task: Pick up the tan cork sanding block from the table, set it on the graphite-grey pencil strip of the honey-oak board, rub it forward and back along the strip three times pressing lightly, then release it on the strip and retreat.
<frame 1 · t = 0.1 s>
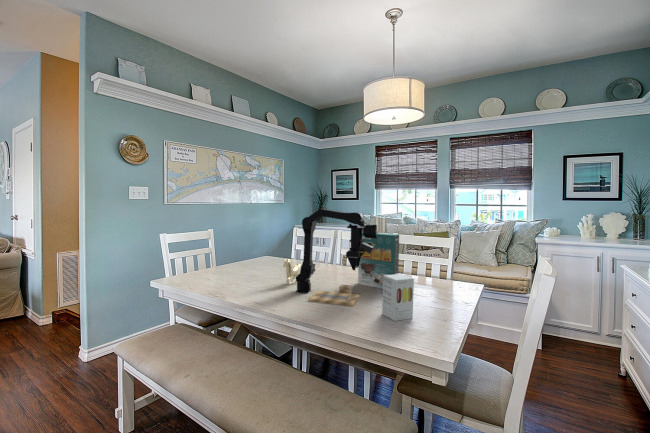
hand: (355, 268, 155), 14 cm above the table, fingers open, 9 cm apart
cake mix box: (377, 286, 176), on the table
sanding block: (345, 293, 161), on the table
unicorn: (292, 284, 177), on the table
supplement box: (397, 316, 130), on the table
board: (334, 299, 151), on the table
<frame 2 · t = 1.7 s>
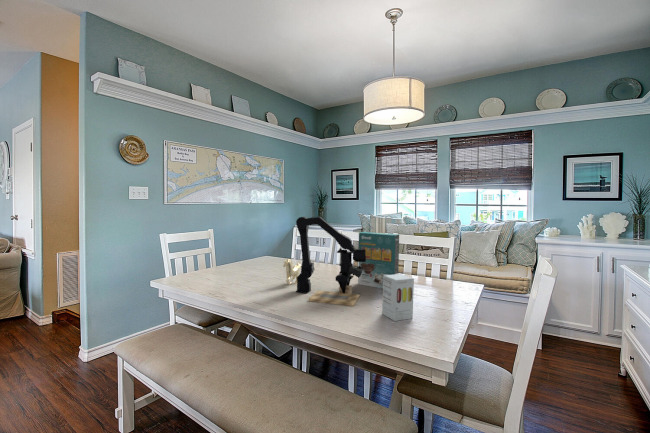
hand: (345, 291, 160), 1 cm above the table, fingers open, 6 cm apart
nothing on the table moved.
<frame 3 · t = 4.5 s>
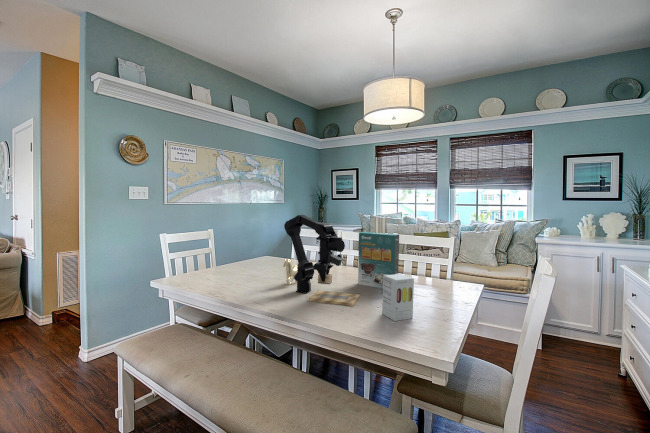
hand: (324, 280, 152), 9 cm above the table, fingers closed on sanding block, 4 cm apart
sanding block: (324, 282, 152), point 8 cm above the table, touching gripper
everything else where it was.
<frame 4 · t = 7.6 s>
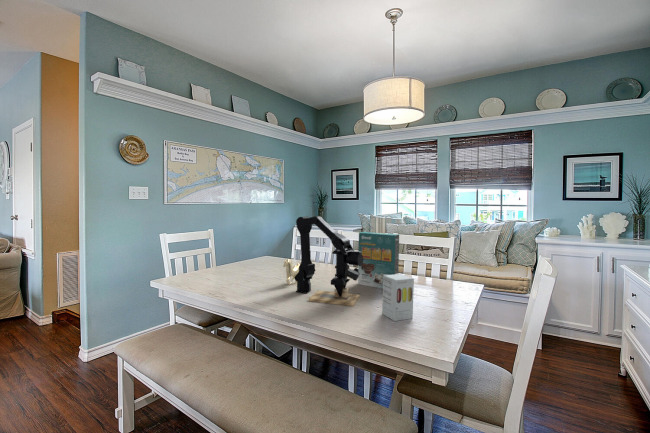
hand: (341, 295, 150), 2 cm above the table, fingers closed on sanding block, 4 cm apart
sanding block: (341, 297, 150), point 1 cm above the table, touching gripper
everything else where it was.
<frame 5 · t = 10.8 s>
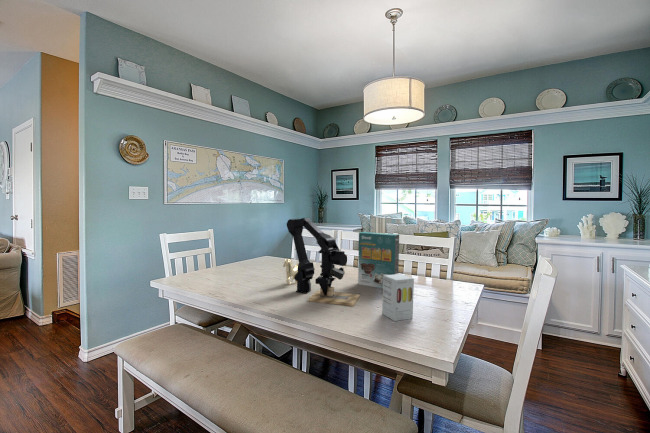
hand: (326, 294, 152), 2 cm above the table, fingers closed on sanding block, 4 cm apart
sanding block: (327, 295, 152), point 1 cm above the table, touching gripper
everything else where it was.
when the fingers open (2 cm above the table, at t = 13.4 s): sanding block stays where it is, resting on board.
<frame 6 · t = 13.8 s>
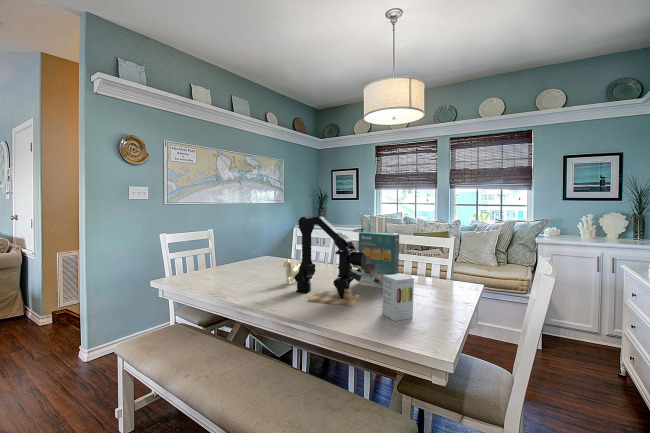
hand: (344, 295, 150), 2 cm above the table, fingers open, 9 cm apart
sanding block: (344, 297, 150), point 1 cm above the table, touching board
everything else where it was.
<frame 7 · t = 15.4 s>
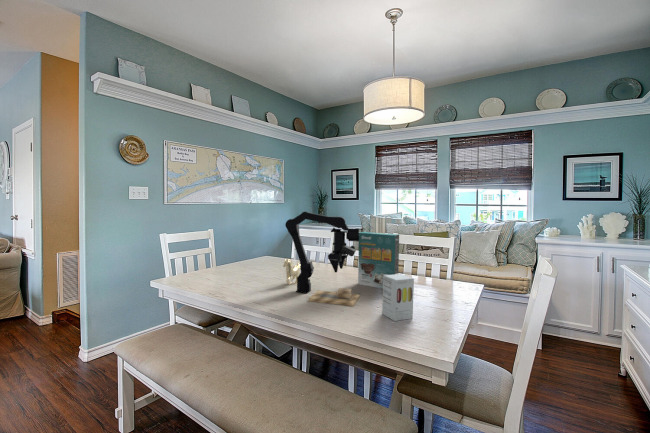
hand: (338, 270, 161), 12 cm above the table, fingers open, 9 cm apart
nothing on the table moved.
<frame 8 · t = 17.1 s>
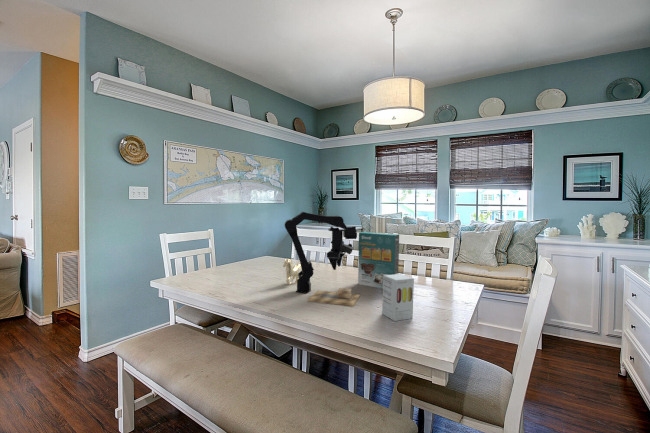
hand: (336, 268, 166), 12 cm above the table, fingers open, 9 cm apart
nothing on the table moved.
at the end: sanding block inside the target area (4.6 cm from its centre), point 1.2 cm above the table; sanding block tilted 0°; the gripper is holding nothing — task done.
